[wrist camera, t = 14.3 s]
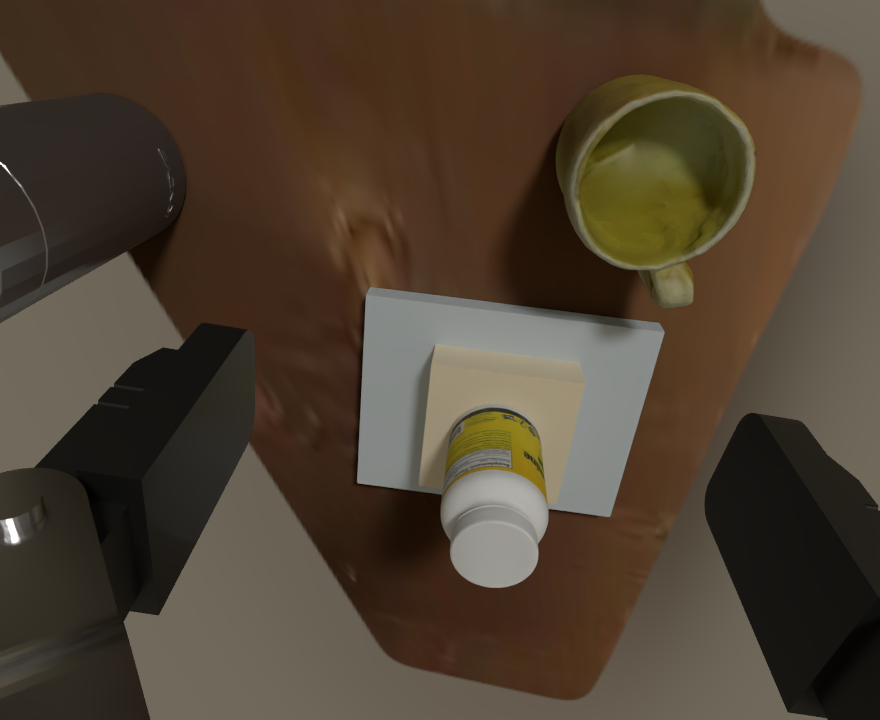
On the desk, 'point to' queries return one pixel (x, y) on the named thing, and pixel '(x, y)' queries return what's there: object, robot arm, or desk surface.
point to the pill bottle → (494, 495)
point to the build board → (505, 332)
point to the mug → (654, 177)
